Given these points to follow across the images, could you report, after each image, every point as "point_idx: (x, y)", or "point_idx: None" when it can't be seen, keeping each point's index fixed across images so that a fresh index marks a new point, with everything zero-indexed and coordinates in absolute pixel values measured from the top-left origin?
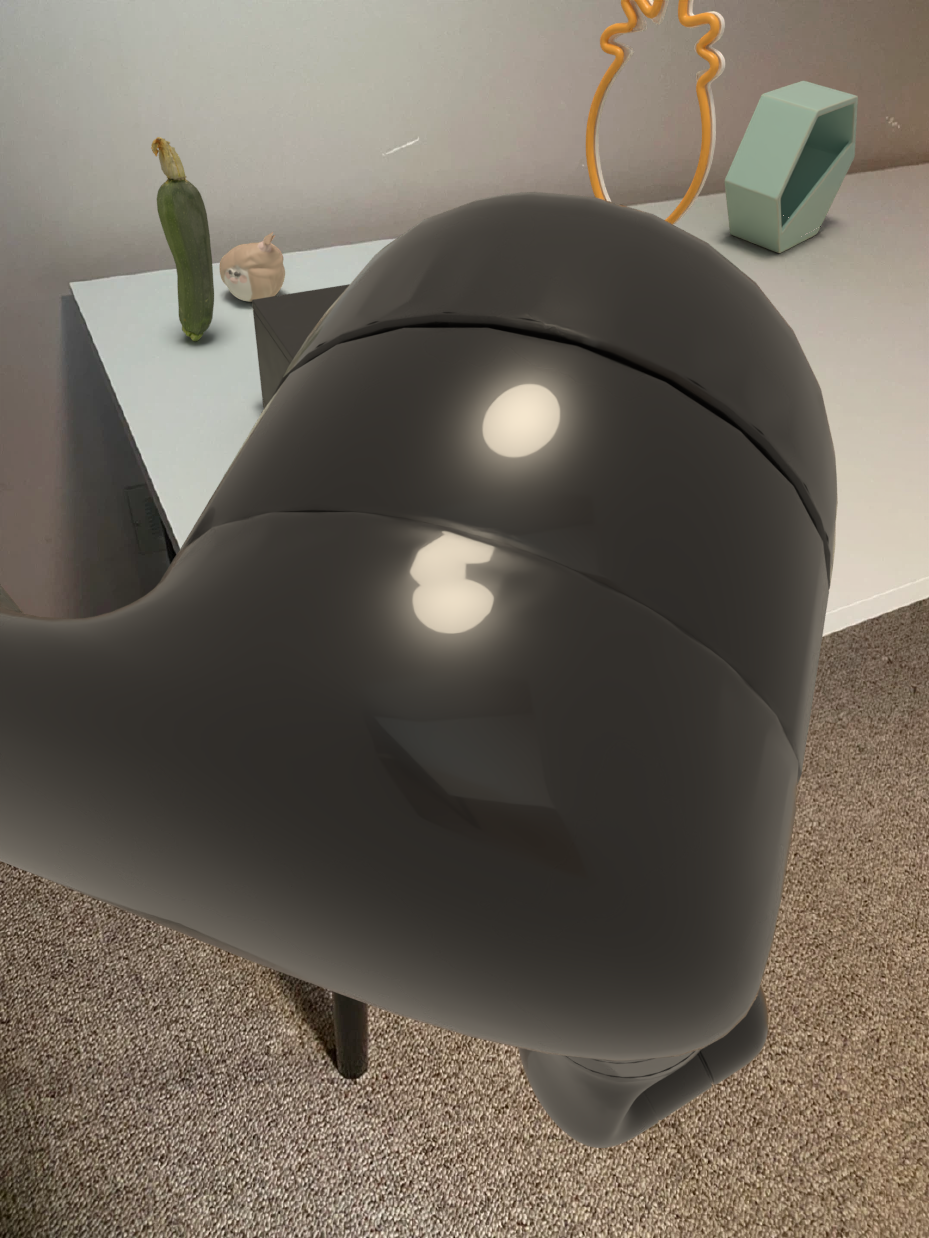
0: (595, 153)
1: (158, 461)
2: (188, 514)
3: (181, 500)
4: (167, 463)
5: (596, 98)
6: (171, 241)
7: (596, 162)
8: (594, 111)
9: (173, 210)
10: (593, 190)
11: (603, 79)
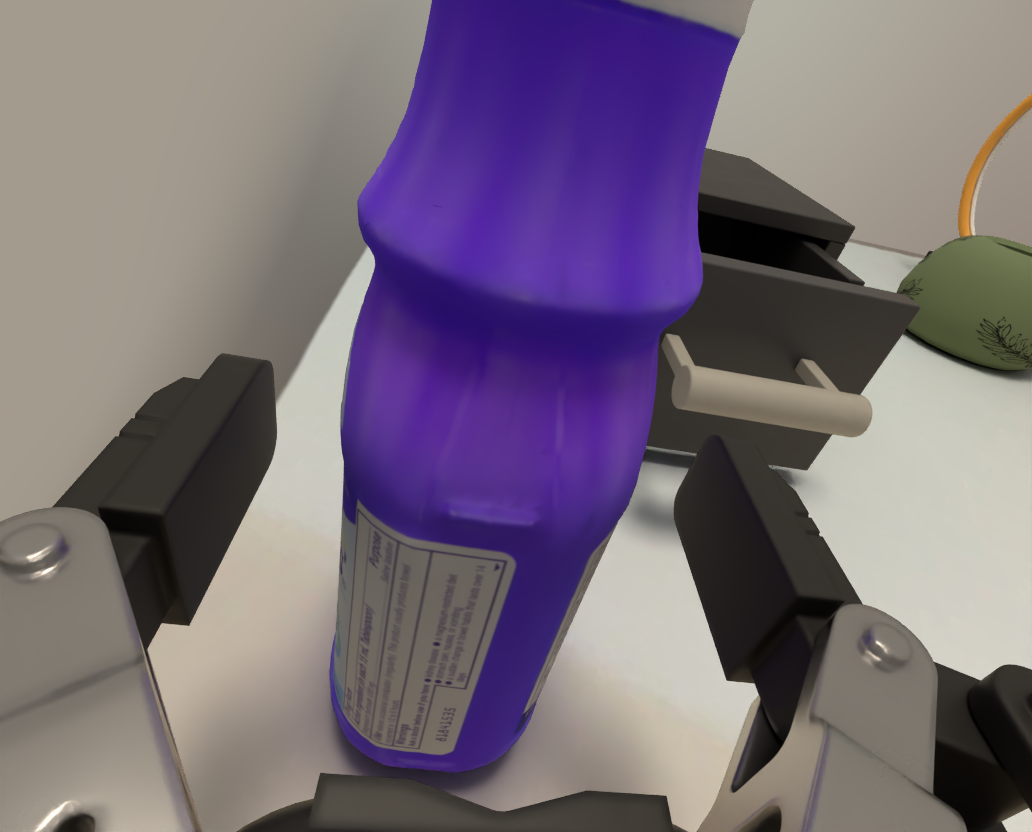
0: (977, 181)
1: (366, 263)
2: (347, 320)
3: (353, 304)
4: (374, 268)
5: (1009, 118)
6: None
7: (974, 190)
8: (999, 133)
9: None
10: (959, 217)
11: (1030, 96)
